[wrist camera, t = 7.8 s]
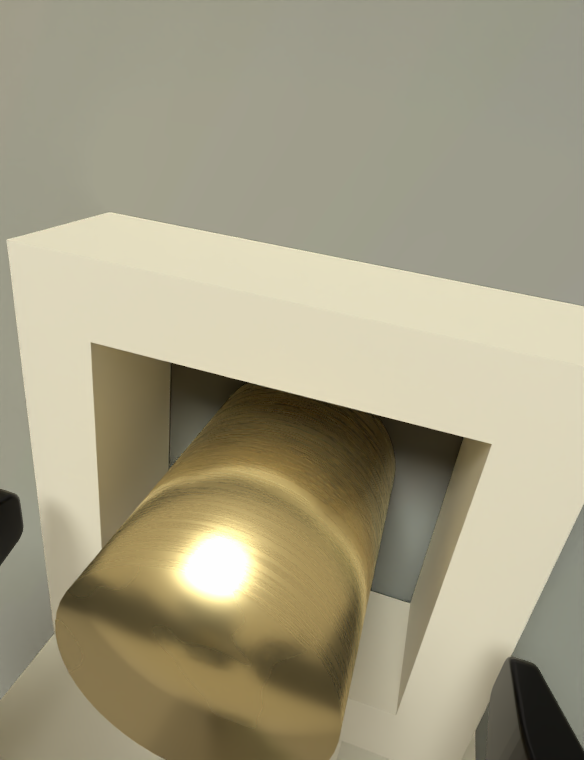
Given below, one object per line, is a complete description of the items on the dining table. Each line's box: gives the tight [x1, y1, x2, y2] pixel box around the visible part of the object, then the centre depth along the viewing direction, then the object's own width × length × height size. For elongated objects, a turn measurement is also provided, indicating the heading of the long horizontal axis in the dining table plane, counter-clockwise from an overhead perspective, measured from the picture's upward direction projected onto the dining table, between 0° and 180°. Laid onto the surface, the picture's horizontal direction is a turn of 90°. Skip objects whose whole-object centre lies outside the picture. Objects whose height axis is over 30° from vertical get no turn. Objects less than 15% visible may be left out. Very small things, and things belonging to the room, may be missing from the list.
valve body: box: [0, 212, 584, 760], centre depth 12 cm, size 12×20×8 cm, turn 172°
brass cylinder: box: [55, 382, 395, 760], centre depth 10 cm, size 4×4×6 cm
